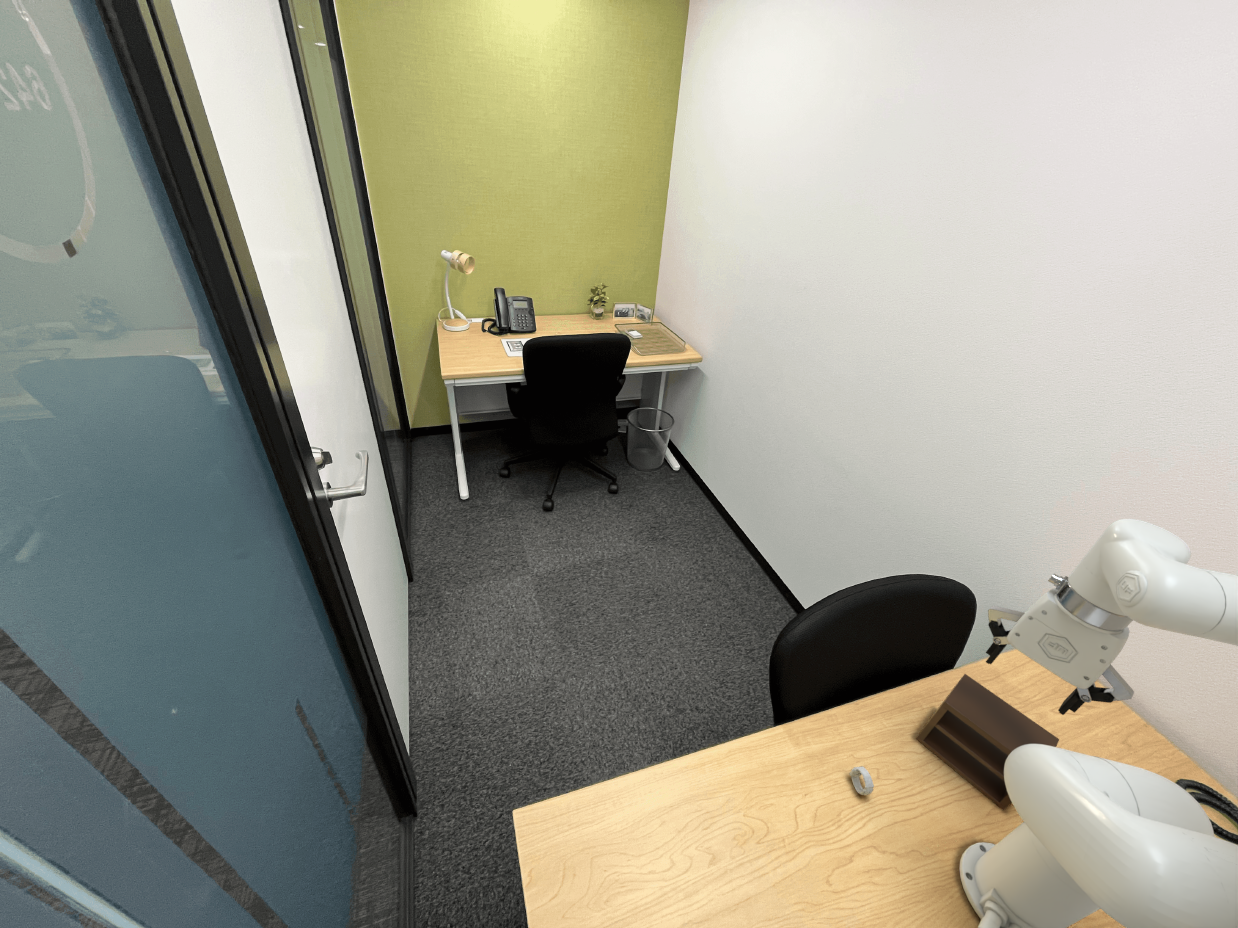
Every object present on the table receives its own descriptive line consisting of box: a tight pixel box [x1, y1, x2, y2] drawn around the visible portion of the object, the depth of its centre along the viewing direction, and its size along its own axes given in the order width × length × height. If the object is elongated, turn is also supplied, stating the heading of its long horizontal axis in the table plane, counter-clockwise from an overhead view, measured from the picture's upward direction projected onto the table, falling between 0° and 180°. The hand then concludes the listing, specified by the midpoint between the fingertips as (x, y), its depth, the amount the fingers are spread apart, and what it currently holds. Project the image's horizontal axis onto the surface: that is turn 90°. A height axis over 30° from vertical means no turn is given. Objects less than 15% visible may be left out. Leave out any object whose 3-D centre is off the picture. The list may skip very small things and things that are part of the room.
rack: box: [915, 673, 1060, 811], centre depth 83 cm, size 9×14×12 cm, turn 39°
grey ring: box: [849, 765, 875, 796], centre depth 79 cm, size 4×2×4 cm, turn 8°
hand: (1025, 682), depth 74 cm, fingers open, 9 cm apart
